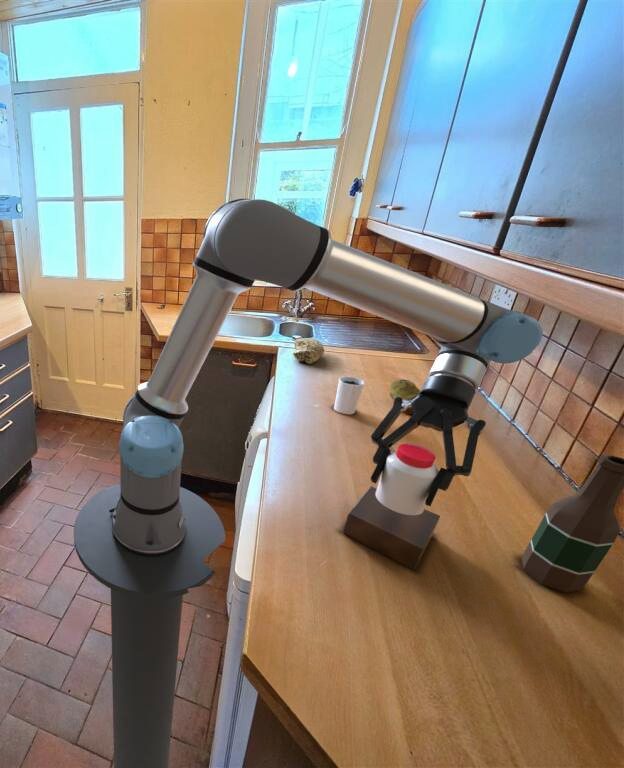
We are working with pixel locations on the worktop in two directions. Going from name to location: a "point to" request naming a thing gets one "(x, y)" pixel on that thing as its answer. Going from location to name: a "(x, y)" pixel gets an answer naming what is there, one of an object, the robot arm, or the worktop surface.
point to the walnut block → (390, 529)
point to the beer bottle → (577, 531)
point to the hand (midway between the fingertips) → (399, 491)
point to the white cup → (348, 394)
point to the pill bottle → (407, 479)
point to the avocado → (404, 391)
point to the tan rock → (308, 350)
